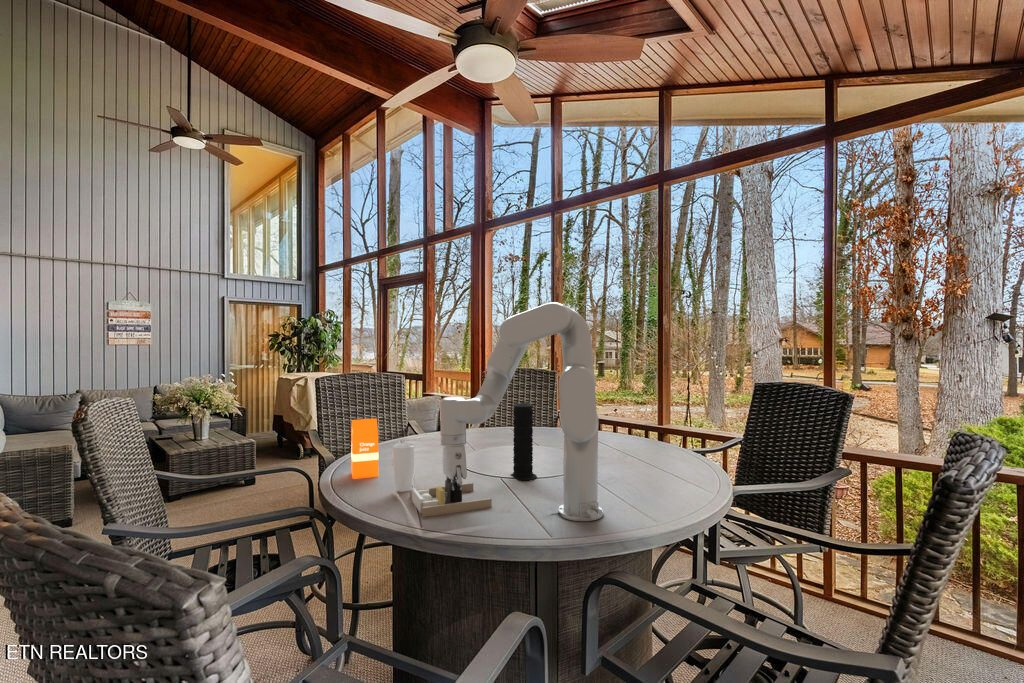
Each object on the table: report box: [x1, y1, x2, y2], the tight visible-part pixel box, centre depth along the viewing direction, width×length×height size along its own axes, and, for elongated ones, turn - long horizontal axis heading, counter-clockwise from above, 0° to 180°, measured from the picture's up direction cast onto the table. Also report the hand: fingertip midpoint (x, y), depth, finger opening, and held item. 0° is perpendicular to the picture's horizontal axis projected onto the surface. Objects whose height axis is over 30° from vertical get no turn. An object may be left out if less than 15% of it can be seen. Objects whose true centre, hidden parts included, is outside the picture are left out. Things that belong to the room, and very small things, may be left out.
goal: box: [411, 487, 439, 514], centre depth 146 cm, size 11×5×4 cm, turn 23°
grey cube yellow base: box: [435, 479, 463, 505], centre depth 149 cm, size 5×7×6 cm
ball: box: [421, 493, 433, 502], centre depth 147 cm, size 4×4×4 cm
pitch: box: [409, 482, 493, 518], centre depth 149 cm, size 17×20×3 cm
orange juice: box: [350, 418, 380, 480], centre depth 181 cm, size 8×9×20 cm
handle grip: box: [510, 402, 538, 482], centre depth 178 cm, size 10×26×10 cm
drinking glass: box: [392, 442, 415, 494], centre depth 162 cm, size 7×7×15 cm
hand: (453, 499), depth 150 cm, fingers closed on grey cube yellow base, 4 cm apart
